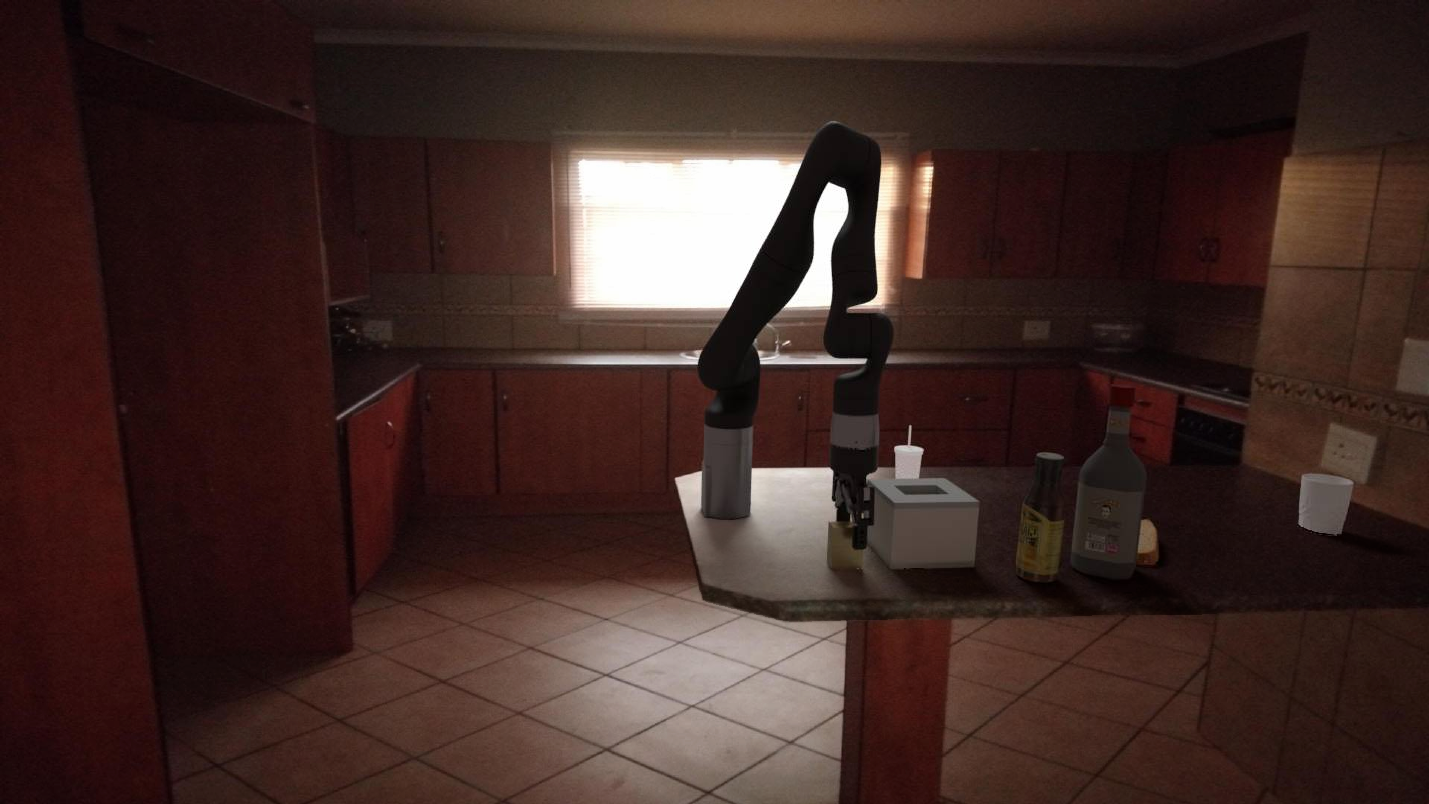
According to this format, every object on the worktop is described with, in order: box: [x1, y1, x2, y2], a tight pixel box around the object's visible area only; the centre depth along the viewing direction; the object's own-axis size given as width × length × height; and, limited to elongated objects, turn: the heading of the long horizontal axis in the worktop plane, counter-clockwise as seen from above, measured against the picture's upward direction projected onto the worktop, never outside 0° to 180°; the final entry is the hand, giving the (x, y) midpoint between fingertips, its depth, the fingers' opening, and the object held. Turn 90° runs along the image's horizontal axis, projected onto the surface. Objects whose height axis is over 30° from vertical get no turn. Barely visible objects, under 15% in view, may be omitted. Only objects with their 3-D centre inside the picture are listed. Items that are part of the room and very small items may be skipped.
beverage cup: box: [894, 424, 924, 479], centre depth 178 cm, size 6×6×14 cm
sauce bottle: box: [1015, 452, 1067, 584], centre depth 129 cm, size 6×6×20 cm
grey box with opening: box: [866, 477, 980, 570], centre depth 139 cm, size 14×14×11 cm
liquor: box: [1069, 383, 1148, 581], centre depth 133 cm, size 9×9×30 cm
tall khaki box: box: [826, 520, 864, 571], centre depth 133 cm, size 5×3×7 cm, turn 97°
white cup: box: [1298, 473, 1354, 536], centre depth 157 cm, size 8×8×10 cm
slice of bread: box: [1136, 518, 1160, 566], centre depth 147 cm, size 18×18×4 cm
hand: (850, 539), depth 133 cm, fingers open, 8 cm apart
